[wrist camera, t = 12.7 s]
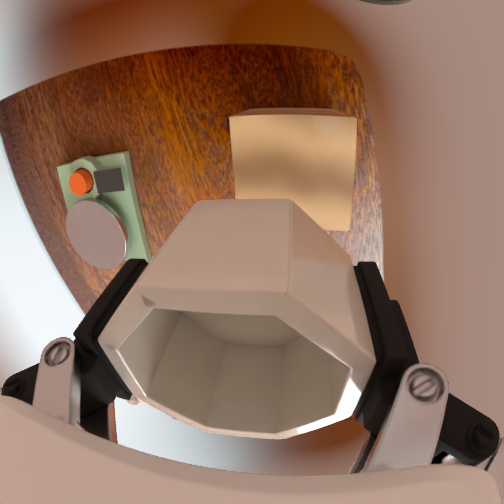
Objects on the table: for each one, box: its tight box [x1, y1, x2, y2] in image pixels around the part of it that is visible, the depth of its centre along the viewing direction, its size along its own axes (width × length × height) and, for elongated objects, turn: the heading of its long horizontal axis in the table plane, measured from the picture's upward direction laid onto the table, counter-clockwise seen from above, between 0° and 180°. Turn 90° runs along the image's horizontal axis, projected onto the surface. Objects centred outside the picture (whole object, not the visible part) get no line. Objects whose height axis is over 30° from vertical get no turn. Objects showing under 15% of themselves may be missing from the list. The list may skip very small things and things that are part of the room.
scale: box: [57, 151, 151, 261], centre depth 36 cm, size 16×13×3 cm
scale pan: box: [66, 168, 129, 269], centre depth 35 cm, size 14×12×1 cm
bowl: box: [98, 199, 376, 439], centre depth 8 cm, size 7×7×4 cm
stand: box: [229, 108, 357, 231], centre depth 25 cm, size 9×9×12 cm
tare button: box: [69, 169, 93, 195], centre depth 32 cm, size 3×3×2 cm
